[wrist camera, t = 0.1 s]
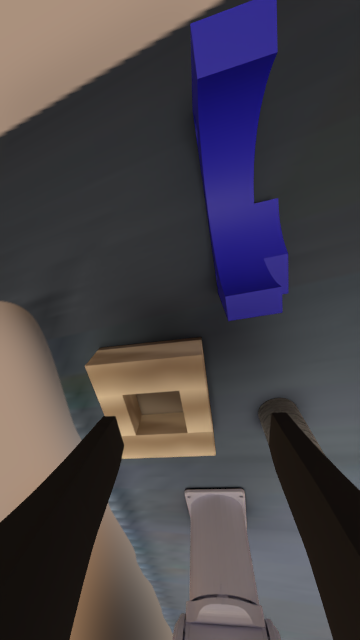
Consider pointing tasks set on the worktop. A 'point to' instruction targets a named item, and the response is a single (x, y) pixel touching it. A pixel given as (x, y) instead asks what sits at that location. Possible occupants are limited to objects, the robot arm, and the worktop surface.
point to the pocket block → (156, 397)
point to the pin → (290, 409)
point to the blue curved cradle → (237, 155)
